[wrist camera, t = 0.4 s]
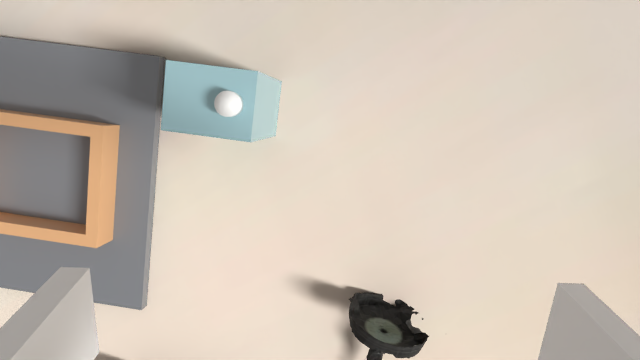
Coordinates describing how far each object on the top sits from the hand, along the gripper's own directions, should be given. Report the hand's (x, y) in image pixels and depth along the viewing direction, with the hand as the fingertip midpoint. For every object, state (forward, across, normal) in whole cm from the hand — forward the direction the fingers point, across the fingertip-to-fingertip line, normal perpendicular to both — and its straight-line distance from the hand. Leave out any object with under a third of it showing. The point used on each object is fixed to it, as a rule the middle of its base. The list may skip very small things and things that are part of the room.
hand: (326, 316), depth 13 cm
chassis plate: (+28, -22, -6) cm, 36 cm away
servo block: (+28, -6, +1) cm, 28 cm away
